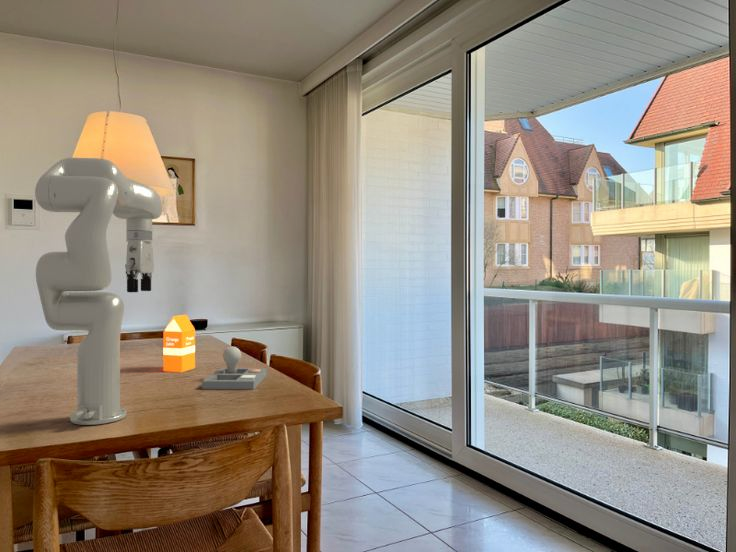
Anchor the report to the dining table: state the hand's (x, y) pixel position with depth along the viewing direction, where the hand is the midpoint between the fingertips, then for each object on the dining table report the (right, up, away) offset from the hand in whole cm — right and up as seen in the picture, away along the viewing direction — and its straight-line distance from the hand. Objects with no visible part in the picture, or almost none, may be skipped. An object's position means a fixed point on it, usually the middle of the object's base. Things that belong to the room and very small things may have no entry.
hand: (139, 291), depth 168 cm
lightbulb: (+26, -30, +13) cm, 42 cm away
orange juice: (+2, -30, +29) cm, 42 cm away
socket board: (+28, -30, +9) cm, 42 cm away
